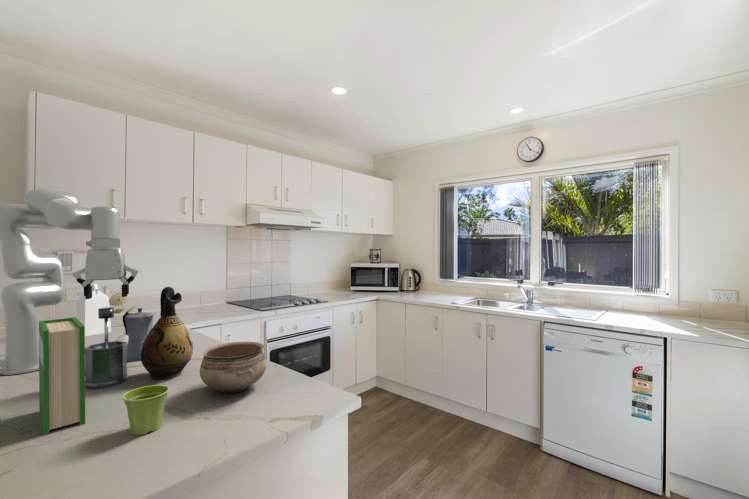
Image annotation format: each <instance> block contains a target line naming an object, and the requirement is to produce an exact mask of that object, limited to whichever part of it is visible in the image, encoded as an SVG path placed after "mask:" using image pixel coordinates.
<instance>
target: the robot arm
mask: <svg viewBox="0 0 749 499" xmlns="http://www.w3.org/2000/svg"><path fill="white" fill-rule="evenodd" d="M23 202H24V204H23V203H4V204H0V245H1V246H0V248H1V255H2V256H1V257H2V264H3V269H4V270H3V271H4V273H5V276H6V277H7V278H9V279H11V280H13V279H14V280H28V279H29V280H30V279H42V281H26V282H25V281H24V282H16V283H12V284H8V285H7V286H5V287H3V289H2V291H1V293H0V298H1V303H2V307H3V312H4V326H5V327H4V328H5V329H4V332H5V334H4V335H5V338H4V340H5V341H4V342H5V346H4V347H5V358H4V359H2V360H0V375H2V376H11V375H12V376H13V375H20V374H26V373H31V372H36V371H39V321H43V319H42V316H41V315H40V314H39V313H38V312H37V311H36V310H35V308H41V307H49V306H57V305H59V304H61V303H62V302H63V301H65V298H66V291H67V290H66V282H65V274H64V269H63V263H62V260H61V259H60V257H59V256H58V255H57V254H54V253H49V252H37V251H36V249H35V242H34V240H33V238H32V236H30V234H28V233H27V232H26V231H25V230H24V229H23V228H25V229H41V230H53V229H56V228H59V229H63V230H67V231H69V230H71V231H72V230H73V231H89V232H90V240H89V241H86V242H85V246H87V247H90V249H89V248H88V249H87V252H86V257H85V266H84V267H83V268H82V269H79V270H77V271H75V272H72V276H73V277H74V278H75V280H76V282H77V283H79V285H81V287H83V293H84V296H86V299H90V298H92V286H90V284H93V282H94V281H109V280H110V281H111V280H119V281H120V282H121V283H122V284H121V291H122V297H126V296H127V294H128V295H129V294H130V284H131V283H132V282H133V281H134V280H135V279H136V277H137V275H138V274H139V271H138V270H137V269H134V268H132V267H129V266H128V265H126V256H125V253H124V249H123V248H121V217H120V216H121V213H120V210H119V209H118V208H116V207H112V206H104V205H103V206H94V207H82V206H79V200H78V198H77V197H76V196H75V195H74V194H72V193H69V192H67V191H59V190H51V189H44V188H36V189H32V190H29V191H27V192H26V193H25V195H24V197H23ZM127 272H129V273H131V274H130V276H129V277H127ZM83 274H84V278H85V279H84V278H83V277H82V275H83Z"/></svg>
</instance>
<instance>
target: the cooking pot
mask: <svg viewBox="0 0 749 499" xmlns="http://www.w3.org/2000/svg"><path fill="white" fill-rule="evenodd" d="M264 348H265V345H264V344H263V343H261V342H256V341H234V342H226V343H221V344H217V345H212V346H210V347H208V348H206V349H204V350H202V352H201V354H202V356H203V359H202V360H201V364H200V367H199V377H200V378H201V381H202V383H203V384H205V385H206V386H207V387H208V388H211V389H213V390H216V391H218V392H222V393H225V394H236V393H241V392H243V391H245V390H247V388H249V387H251V386H252V385H254V384H255V383H257V382H258V381H259V380H260V379H261V378H262V377H263V375H264V374H265V372H266V369H267V365H268V363H267V358H266V355H265V352H264Z"/></svg>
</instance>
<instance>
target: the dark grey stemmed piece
mask: <svg viewBox="0 0 749 499" xmlns="http://www.w3.org/2000/svg"><path fill="white" fill-rule="evenodd" d="M114 311H115V306H114V307H112V306H110V307H108V308H100V309H98V318H99V319H104V333H103V334H104V342H105V348H108V342H109V332H108V318H110V319H111V318H115V313H114Z"/></svg>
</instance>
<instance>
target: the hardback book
mask: <svg viewBox="0 0 749 499" xmlns="http://www.w3.org/2000/svg"><path fill="white" fill-rule="evenodd" d="M85 337H86V336H85V326H84V325H83V324H82V323H81V322H80V321H79V320H78V319H77V316H75V317H66V318H57V319H47V320H42V321H39V370H38V371H39V372H38V373H39V374H38V376H39V377H38V379H39V380H38V381H39V387H38V388H39V389H38V390H39V393H38V394H39V398H38V399H39V401H38V402H39V403H38V404H39V405H38V406H39V407H38V408H39V411H38V412H39V418H40V422H41V428H42V433H43V436H47V435H50V431H51V430H54V429H58V428H62V427H65V426H70V425H72V424H76V423H79V425H80V426H82V425H86V388H85V348H86V347H85V346H86V338H85Z"/></svg>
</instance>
